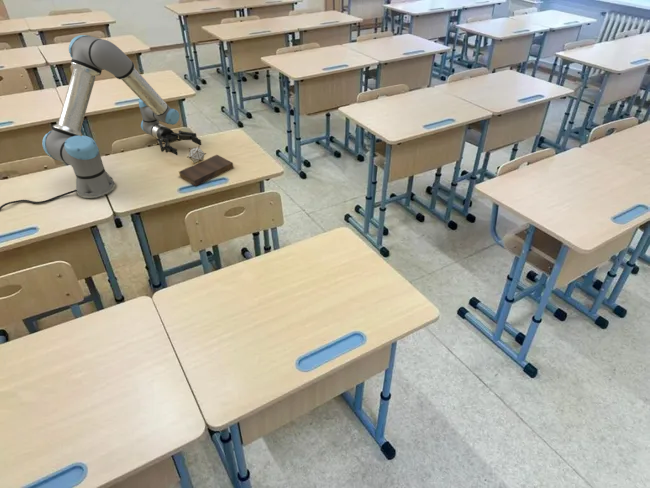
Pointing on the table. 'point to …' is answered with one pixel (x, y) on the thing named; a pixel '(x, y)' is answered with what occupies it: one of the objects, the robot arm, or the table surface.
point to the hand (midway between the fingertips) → (188, 147)
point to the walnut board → (206, 170)
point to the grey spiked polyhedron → (196, 155)
